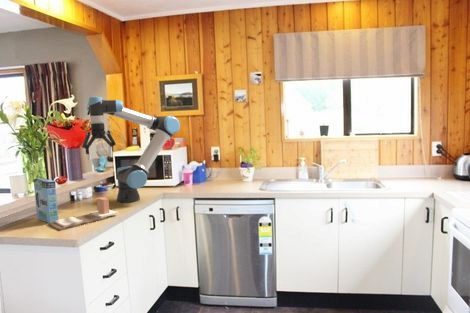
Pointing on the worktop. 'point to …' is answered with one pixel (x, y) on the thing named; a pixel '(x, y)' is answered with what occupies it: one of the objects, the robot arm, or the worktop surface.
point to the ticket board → (74, 221)
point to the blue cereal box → (46, 200)
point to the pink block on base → (103, 208)
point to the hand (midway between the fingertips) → (100, 158)
